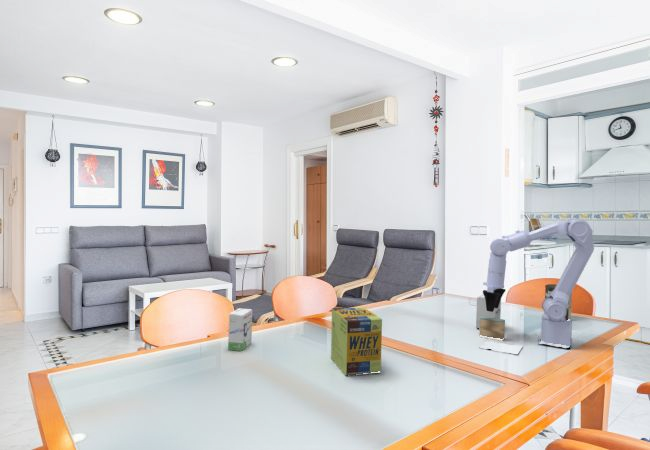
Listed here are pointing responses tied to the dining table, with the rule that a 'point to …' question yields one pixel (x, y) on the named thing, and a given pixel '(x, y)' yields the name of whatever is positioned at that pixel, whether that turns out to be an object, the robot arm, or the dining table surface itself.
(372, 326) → the protein box
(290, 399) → the dining table surface
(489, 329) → the slab
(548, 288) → the coffee can
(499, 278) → the robot arm
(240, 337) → the ink box
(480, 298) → the supplement box
